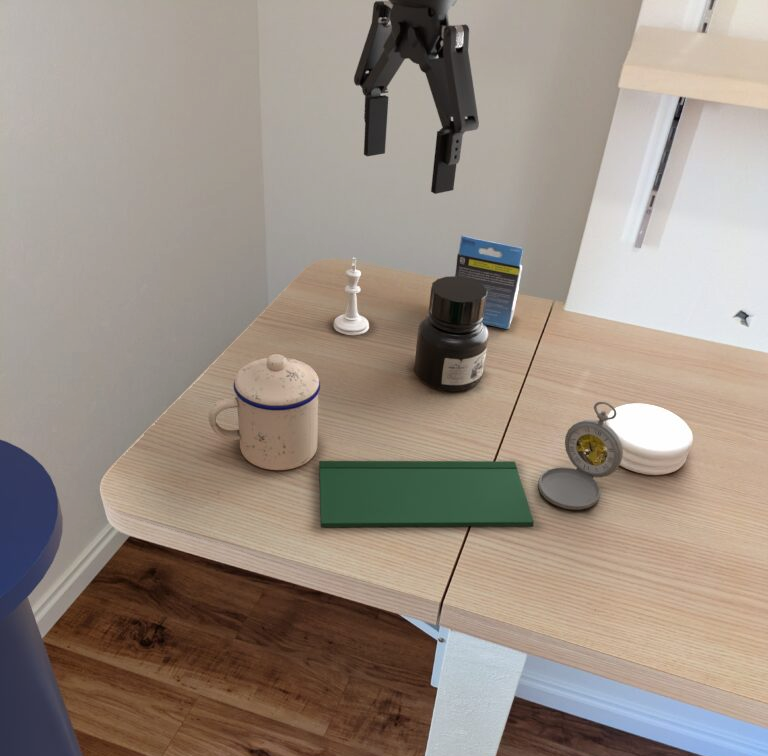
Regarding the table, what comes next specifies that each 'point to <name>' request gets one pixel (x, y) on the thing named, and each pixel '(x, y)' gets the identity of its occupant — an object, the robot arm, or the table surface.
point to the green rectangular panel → (422, 494)
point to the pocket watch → (583, 463)
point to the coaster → (650, 438)
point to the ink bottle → (453, 335)
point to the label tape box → (492, 276)
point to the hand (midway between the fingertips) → (406, 172)
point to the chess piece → (352, 307)
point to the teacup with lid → (274, 412)
